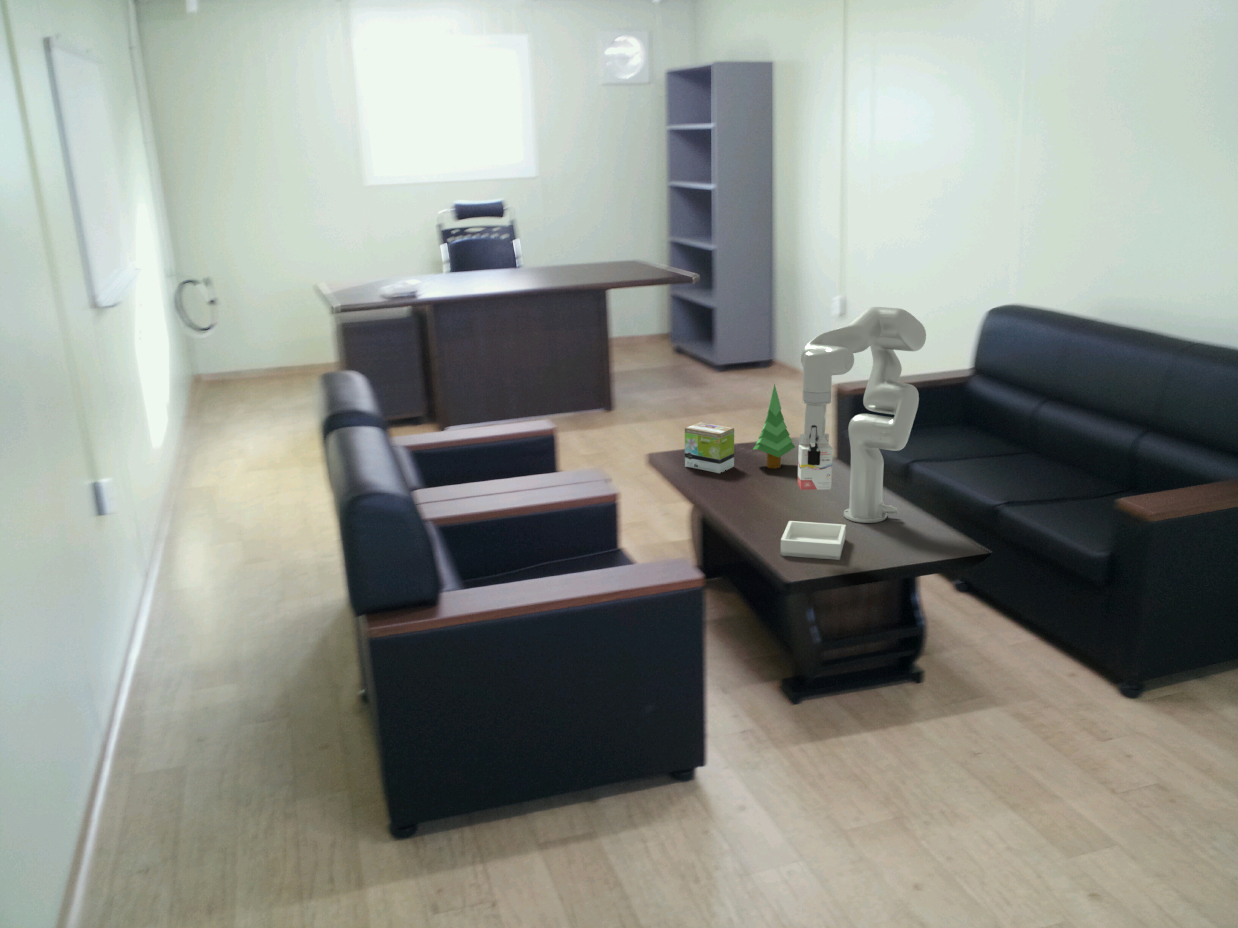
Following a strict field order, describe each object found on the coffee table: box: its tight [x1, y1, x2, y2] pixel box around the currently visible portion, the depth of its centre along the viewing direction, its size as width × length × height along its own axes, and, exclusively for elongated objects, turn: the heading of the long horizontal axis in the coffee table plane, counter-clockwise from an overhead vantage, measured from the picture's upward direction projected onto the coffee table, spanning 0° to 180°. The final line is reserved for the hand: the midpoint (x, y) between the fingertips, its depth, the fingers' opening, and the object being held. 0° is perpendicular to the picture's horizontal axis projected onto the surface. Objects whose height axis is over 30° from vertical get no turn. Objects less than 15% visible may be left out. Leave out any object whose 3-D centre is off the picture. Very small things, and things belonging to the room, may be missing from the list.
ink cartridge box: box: [797, 433, 833, 491], centre depth 283 cm, size 9×5×15 cm, turn 91°
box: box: [780, 520, 847, 561], centre depth 289 cm, size 16×16×4 cm
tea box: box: [684, 421, 735, 474], centre depth 366 cm, size 15×10×15 cm
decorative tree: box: [752, 383, 796, 469], centre depth 362 cm, size 14×16×30 cm
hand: (815, 460), depth 283 cm, fingers closed on ink cartridge box, 6 cm apart
